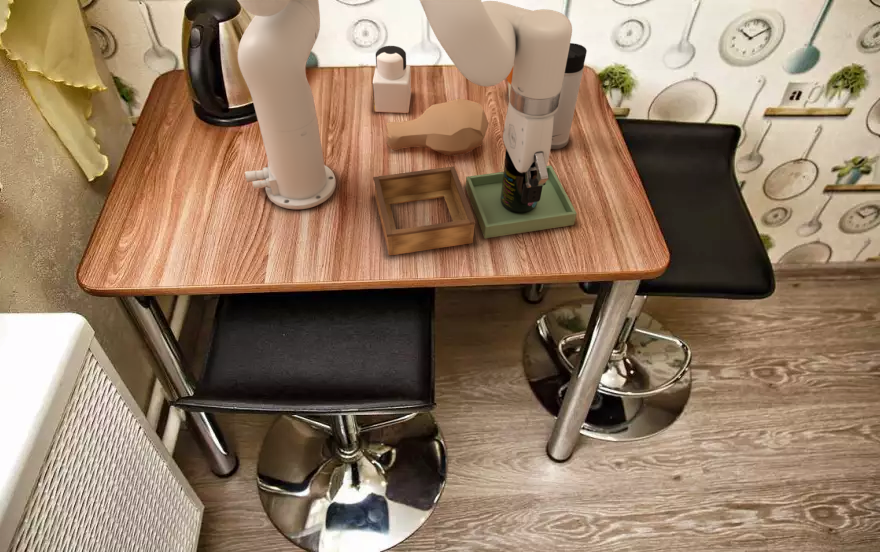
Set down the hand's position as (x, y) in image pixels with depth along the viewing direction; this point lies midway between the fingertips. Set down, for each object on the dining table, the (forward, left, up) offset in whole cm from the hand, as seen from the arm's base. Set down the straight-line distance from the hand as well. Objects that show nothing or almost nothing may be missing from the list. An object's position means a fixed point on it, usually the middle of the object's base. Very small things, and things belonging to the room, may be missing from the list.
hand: (521, 182), depth 108 cm
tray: (0, 0, -6) cm, 6 cm away
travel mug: (+13, +17, -6) cm, 22 cm away
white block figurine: (-16, +36, -6) cm, 40 cm away
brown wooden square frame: (-17, 0, -6) cm, 18 cm away
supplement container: (0, 0, -5) cm, 5 cm away
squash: (-10, +20, -6) cm, 23 cm away
